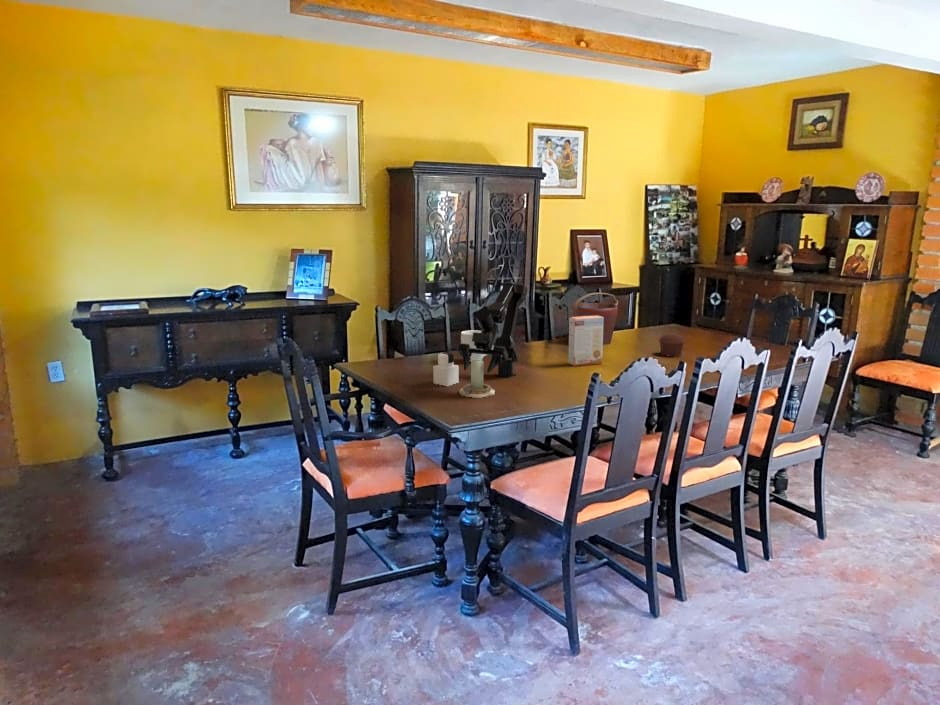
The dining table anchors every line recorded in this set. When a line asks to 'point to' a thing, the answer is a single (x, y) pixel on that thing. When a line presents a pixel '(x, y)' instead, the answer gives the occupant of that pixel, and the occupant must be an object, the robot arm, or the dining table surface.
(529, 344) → the dining table surface
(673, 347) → the muffin
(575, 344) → the cracker box
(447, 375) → the medicine bottle
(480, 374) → the post
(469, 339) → the mug
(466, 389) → the flange plate
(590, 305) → the bucket
